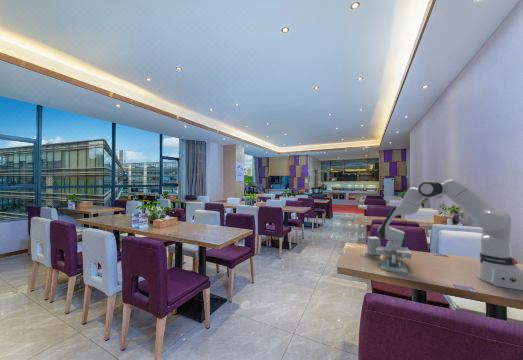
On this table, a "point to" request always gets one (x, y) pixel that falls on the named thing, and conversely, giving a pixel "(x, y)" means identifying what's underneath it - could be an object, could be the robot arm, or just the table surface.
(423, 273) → the table surface
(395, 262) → the drive
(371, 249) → the supplement box
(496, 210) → the robot arm
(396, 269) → the pin tray
